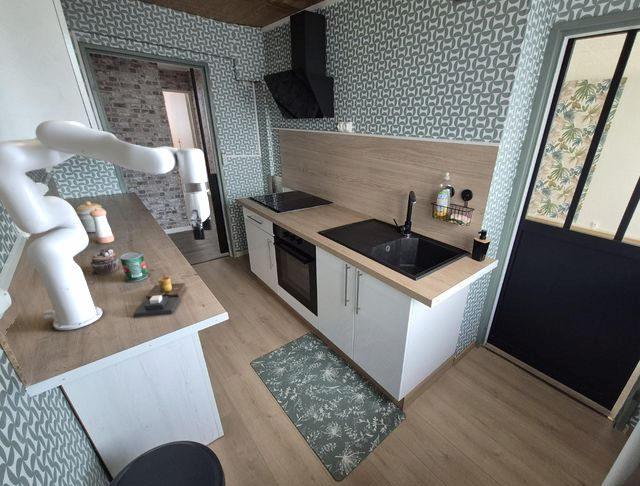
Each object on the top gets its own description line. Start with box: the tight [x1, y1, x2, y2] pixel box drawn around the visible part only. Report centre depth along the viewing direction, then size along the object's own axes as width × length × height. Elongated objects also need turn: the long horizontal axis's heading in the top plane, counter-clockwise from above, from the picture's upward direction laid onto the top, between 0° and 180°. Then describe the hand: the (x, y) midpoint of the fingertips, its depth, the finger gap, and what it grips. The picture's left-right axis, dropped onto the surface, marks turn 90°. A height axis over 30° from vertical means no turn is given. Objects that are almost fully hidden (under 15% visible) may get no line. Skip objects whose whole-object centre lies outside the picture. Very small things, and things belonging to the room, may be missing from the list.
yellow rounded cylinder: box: [157, 275, 172, 292], centre depth 118 cm, size 4×4×5 cm
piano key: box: [149, 295, 162, 304], centre depth 110 cm, size 3×3×2 cm
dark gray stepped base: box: [133, 296, 181, 318], centre depth 110 cm, size 12×9×4 cm
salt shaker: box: [89, 208, 115, 244], centre depth 163 cm, size 7×7×19 cm
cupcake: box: [90, 248, 119, 275], centre depth 134 cm, size 10×10×10 cm
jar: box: [75, 200, 109, 233], centre depth 179 cm, size 13×13×18 cm
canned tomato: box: [119, 251, 149, 283], centre depth 129 cm, size 8×8×11 cm
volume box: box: [145, 282, 187, 300], centre depth 120 cm, size 11×9×3 cm
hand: (203, 234), depth 104 cm, fingers open, 9 cm apart
